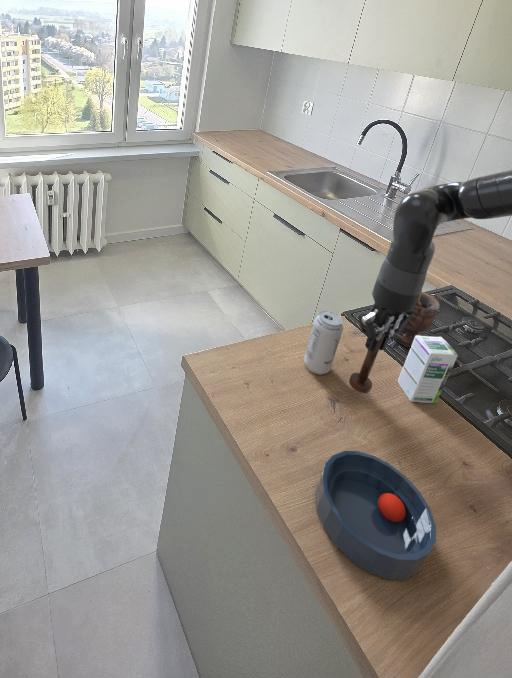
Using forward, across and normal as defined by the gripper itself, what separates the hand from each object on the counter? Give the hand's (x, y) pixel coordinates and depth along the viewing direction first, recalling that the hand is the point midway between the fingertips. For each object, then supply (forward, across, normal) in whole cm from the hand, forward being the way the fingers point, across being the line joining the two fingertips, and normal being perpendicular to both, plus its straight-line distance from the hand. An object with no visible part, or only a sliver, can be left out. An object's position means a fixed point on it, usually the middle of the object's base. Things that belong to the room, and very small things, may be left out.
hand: (374, 348), depth 90 cm
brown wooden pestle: (+11, 0, 0) cm, 11 cm away
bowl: (+13, -20, -21) cm, 32 cm away
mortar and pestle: (+14, +25, +9) cm, 30 cm away
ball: (+11, -16, -22) cm, 29 cm away
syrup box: (+13, +13, -4) cm, 19 cm away
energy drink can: (+14, -4, +9) cm, 17 cm away
